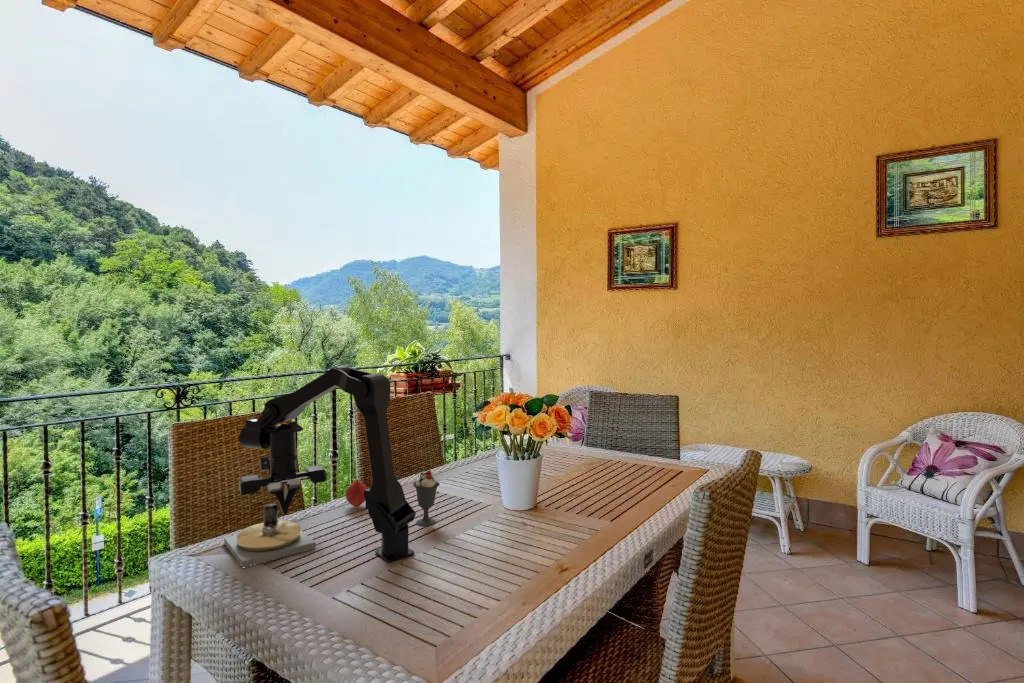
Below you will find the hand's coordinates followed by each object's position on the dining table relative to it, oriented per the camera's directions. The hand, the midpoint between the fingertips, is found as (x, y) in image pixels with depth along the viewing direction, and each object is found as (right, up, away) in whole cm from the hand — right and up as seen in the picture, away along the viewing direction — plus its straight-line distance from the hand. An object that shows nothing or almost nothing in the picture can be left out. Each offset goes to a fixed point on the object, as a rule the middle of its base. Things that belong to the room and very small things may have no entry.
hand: (284, 514), depth 127 cm
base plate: (-1, -5, -7) cm, 8 cm away
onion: (+12, -4, +19) cm, 22 cm away
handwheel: (0, -3, -7) cm, 8 cm away
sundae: (+32, -5, +9) cm, 34 cm away
